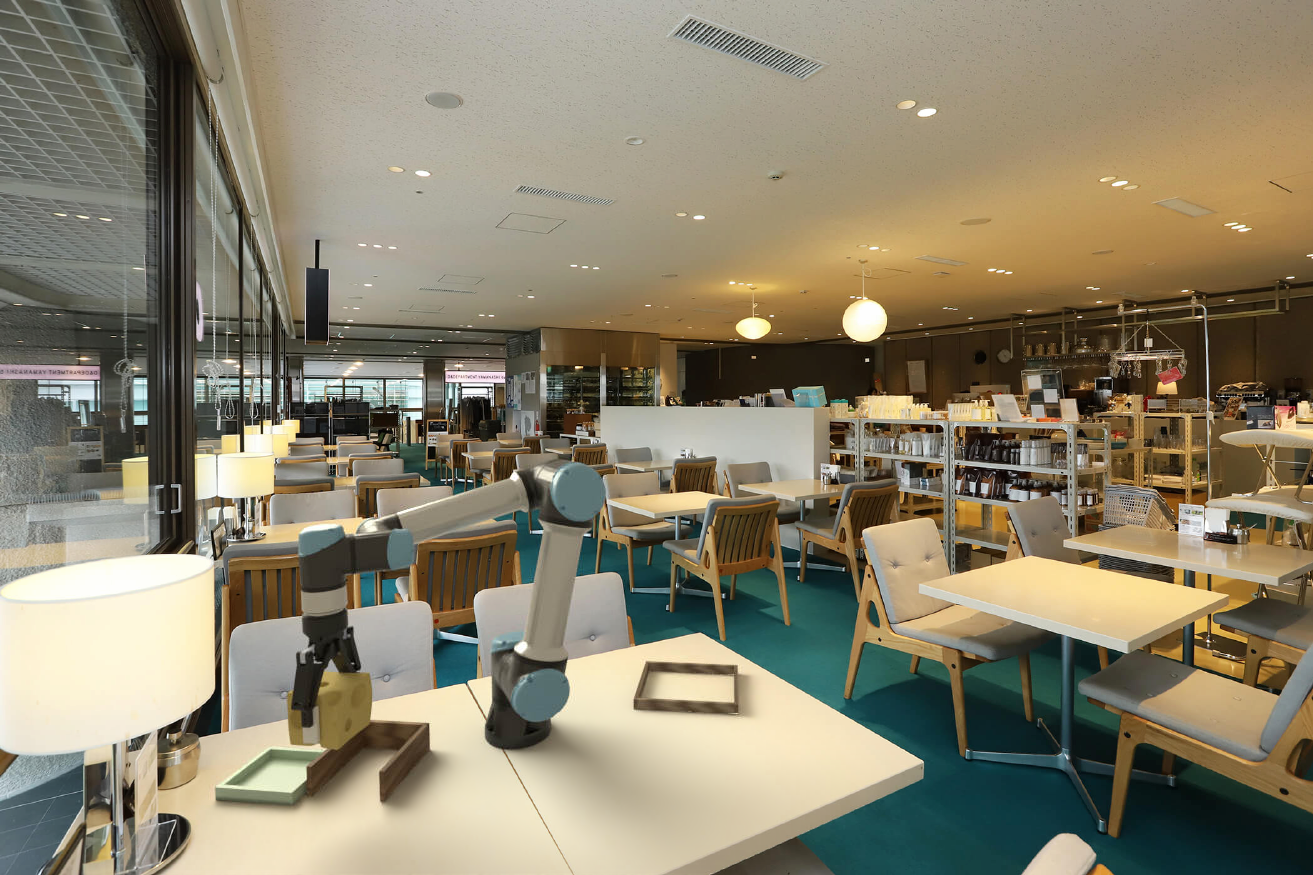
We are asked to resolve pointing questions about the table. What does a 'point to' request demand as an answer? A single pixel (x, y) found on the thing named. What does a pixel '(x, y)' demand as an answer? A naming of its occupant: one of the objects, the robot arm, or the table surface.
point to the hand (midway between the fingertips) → (330, 726)
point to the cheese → (336, 709)
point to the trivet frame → (686, 704)
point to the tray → (270, 777)
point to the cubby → (378, 735)
